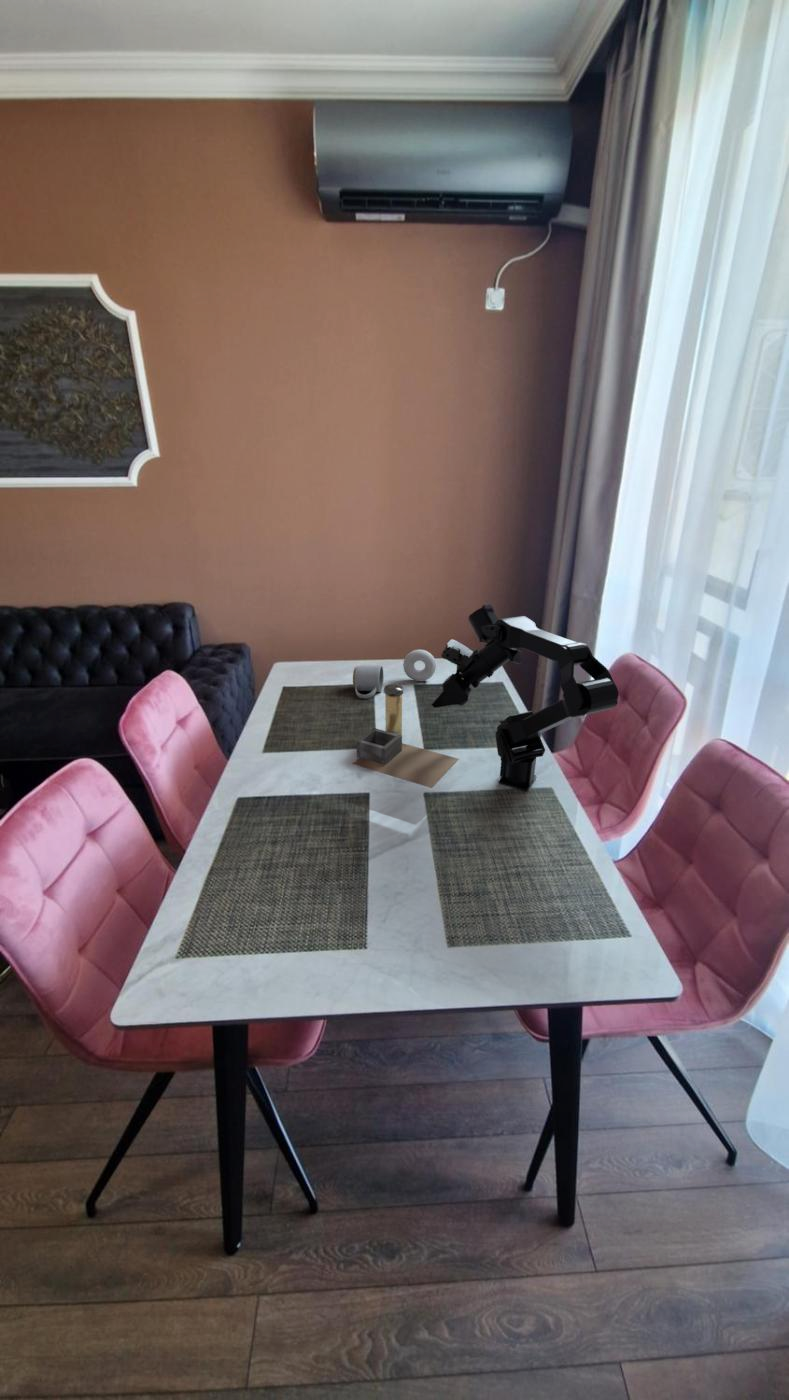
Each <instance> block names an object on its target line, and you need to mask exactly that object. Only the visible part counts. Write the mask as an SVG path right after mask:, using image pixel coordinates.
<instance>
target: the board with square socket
mask: <svg viewBox="0 0 789 1400" xmlns="http://www.w3.org/2000/svg"><path fill="white" fill-rule="evenodd" d="M356 757H358V759H356V760H354V762H352V763H351V764H352V765H355V766H358V767H362V768H364V769H368V770H372V771H375V772H379V773H381V774H384V775H388V776H392V777H394V778H398V779H400V780H404V781H408V782H412V783H415V784H418V785H421V786H424V787H428V788H432V789H433V788H434V786H436V784H437V783H438V782H439V781H440V780H441V779H443V777H444V776H445V775H446V774H447V773H448V771H450V770H451V768H452V767H453V766H455V764H456V763H457V762H458V761H459V760H460V758H458V757H454V756H450V755H447V754H443V753H439V752H436V751H432V750H428V749H424V748H421V747H419V746H418V747H417V746H414V745H411V744H410V745H409V744H408V743H407V744H406V743H403V734H402V735H398V734H395V733H391V732H387V731H386V730H382V729H379V728H375V727H373V728H372V729H370V731H368V732H367V733H365V734H364V735H363V736H362V737H360V738H359V739H357V740H356Z"/></svg>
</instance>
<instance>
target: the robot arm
mask: <svg viewBox="0 0 789 1400" xmlns="http://www.w3.org/2000/svg"><path fill="white" fill-rule="evenodd" d="M467 619H468V622H469V624H470V626H471V628H472V631H473V632H474V634H475V636H476V638H477V640H478V641H479V643H485V645H483V646H482V647H481V648H476V649H475V650H471V649H470V648H469V647H467V646H466V645H464V644H462V643H461V642H460V641H457V640H455V639H453V638H452V639H450V640H449V641H448V642H447V644H446V646H445V647H444V649H443V650H442V652H441V654H440V656H441V658H442V659H444V660H447V661H448V662H449V663H452V664H454V665H455V666H456V672H455V673H452V674H451V675H449V676H448V677H447V678H446V679H445V680H444V681H443V682H442V691H441V693H440V694H439V695H438V696H437V697H436V698H435V699H434V701H433V702H432V703H431V706H432V708H434V709H436V708H441V707H443V708H444V707H447V706H448V707H449V706H463V705H465V704H466V703H468V701H469V700H470V698H471V697H472V691H473V690H472V688H471V686H472V687H473V688H474V689H477V687H479V685H480V683H481V682H483V681H484V680H485V679H487V678H491V677H492V676H493V675H494V672H496V671H497V670H499V669H500V668H501V667H502V666H504V665H505V664H506V663H507V662H509V661H510V663H514V664H517V665H521V664H522V656H523V651H521V650H518V649H524V650H526V651H529V652H531V653H533V654H537V655H538V656H541V657H543V658H546V659H548V660H550V661H553V662H555V663H557V664H558V666H559V669H560V682H559V683H560V684H559V685H560V688H561V690H562V697H561V699H559V700H558V701H555V702H554V703H552V704H550V705H548V706H546V707H544V708H542V709H541V710H539V711H536V712H535V713H534V712H533V710H530V711H526V712H522V713H517V714H513V715H508V717H506V718H505V719H502V720H499V723H500V724H498V725H497V727H496V731H495V741H496V751H497V756H499V757H500V767H499V768H500V769H499V770H500V771H499V777H500V778H499V780H498V783H499V784H501V785H505V786H507V787H512V788H516V789H519V790H521V791H522V790H523V791H527V792H528V790H530V788H531V786H532V785H533V784H534V782H535V781H536V779H537V775H535V772H536V771H535V770H536V765H537V758H539V757H543V756H544V754H545V752H546V748H545V746H544V743H543V740H542V733H545V732H547V731H549V730H552V729H553V728H555V727H557V726H559V725H562V724H564V723H567V722H568V721H570V720H573V719H574V718H575V719H576V718H577V717H581V716H586V715H591V714H595V713H599V712H603V711H607V710H608V711H609V710H613V709H614V708H616V707H617V705H618V703H619V701H618V700H619V690H618V686H617V685H616V683H615V681H614V679H613V677H612V675H611V672H610V671H609V669H608V668H607V667H606V666H605V665H604V664H602V663H601V662H600V661H599V660H598V659H597V658H596V657H594V656H593V653H592V651H591V649H590V647H589V645H587V644H586V643H583V642H577V641H575V640H571V639H568V638H565V637H563V636H559V635H558V634H555V633H553V632H548V631H547V630H543V629H541V628H538V627H537V626H536V625H537V624H536V623H535V622H534V621H533V620H532V619H530V618H529V617H527V616H525V615H519V616H512V617H506V618H498V616H497V614H496V613H495V609H494V608H493V605H492V603H488V604H483V605H482V607H481V608H477V609H476V610H475V611H474V612H472V613H470V614H469V616H468V618H467ZM575 666H579V667H580V668H581V669H582V670H583V671H585V673H587V675H589V676H590V677H591V678H593V679H591V680H585V681H582V682H581V681H580V682H577V681H576V679H575V677H574V675H575V674H574V673H575V671H574V670H575Z"/></svg>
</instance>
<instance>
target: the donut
mask: <svg viewBox="0 0 789 1400" xmlns="http://www.w3.org/2000/svg"><path fill="white" fill-rule="evenodd" d="M404 657H405V658H404V660H403V663H402V666H403V671H404V673H405V675H406V676H407V677H408V678H409V679H411V680H413V681H416V682H425V681H427V680H429V679H431V678H432V677H433V676H434V674H435V673H436V669H437V662H436V659H435V657H434V655H432V654H431V652H429V651H427V650H426V649H414V650H412V651H410V652H409V653H408V654H406V656H404ZM418 661H421V662H423V663H424V668H423V669H421V670H420V669H417V668H416V667H415V664H416V662H418Z"/></svg>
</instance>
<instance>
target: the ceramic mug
mask: <svg viewBox="0 0 789 1400" xmlns="http://www.w3.org/2000/svg"><path fill="white" fill-rule="evenodd" d="M384 679H385V678H384V668H383V665H381V664H380V665H379V664H378V665H358V666H355V667H354V669H353V673H352V685H353V688H354V689H355V694H356V696H357V697H358V698H360V699H363V698H364V700H365V699H366V700H367V699H369V698H370V699H371V698H372V697H373V696H375V694H376V693H382V691H383V690H384V681H385V680H384ZM359 691H360V692H361V691H362V692H369V693H367V694H362V693H360V692H359Z"/></svg>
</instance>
